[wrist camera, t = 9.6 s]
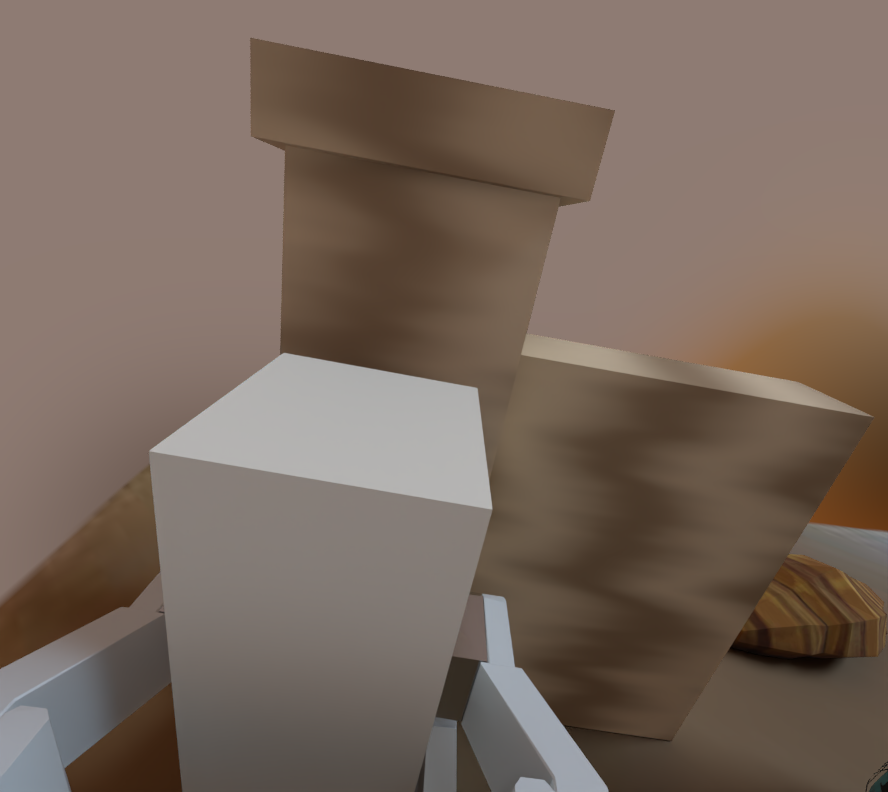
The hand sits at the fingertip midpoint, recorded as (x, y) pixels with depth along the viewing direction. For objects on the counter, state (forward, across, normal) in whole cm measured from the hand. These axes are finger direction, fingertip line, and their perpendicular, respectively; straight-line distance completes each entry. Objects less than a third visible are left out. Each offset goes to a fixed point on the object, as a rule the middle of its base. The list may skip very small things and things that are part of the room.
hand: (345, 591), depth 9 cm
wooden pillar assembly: (+3, -5, +11) cm, 13 cm away
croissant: (+12, -26, +12) cm, 31 cm away
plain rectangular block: (-1, 0, +7) cm, 7 cm away
